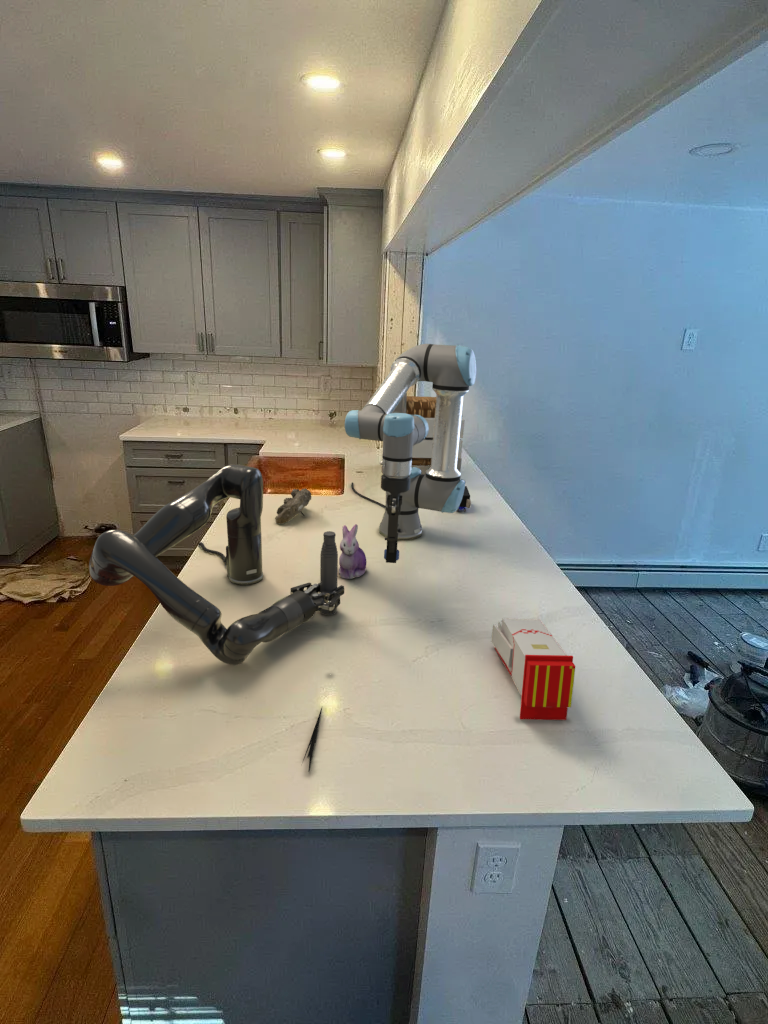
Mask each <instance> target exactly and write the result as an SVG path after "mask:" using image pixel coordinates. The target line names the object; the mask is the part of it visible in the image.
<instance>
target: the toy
mask: <svg viewBox="0 0 768 1024" xmlns="http://www.w3.org/2000/svg"><path fill="white" fill-rule="evenodd" d="M490 638H491V639H490V642H491V644H492V646H493V647H494V650H495V652H496V654H497V655H498V657H499V659H500V660H501V662H502V664H503V666H504V667H505V669H506V671H507V672H508V674H509V676H510V677H511V679H512V681H513V683H514V685H515V688H516V690H517V691H518V693H519V695H520V697H521V698H520V710H519V719H520V720H534V721H535V720H539V721H567V716H568V708H572V701H573V692H574V684H575V674H576V673H575V672H576V665H575V663H574V656H573V655H568V654H567V653H566V652H565V650H564V649H563V648H562V646H561V645H560V644H559V643H558V641H557V640H556V639H555V637H554V636H553V634H552V633H551V632H550V631H549V629H548V628H547V626H546V624H545V623H543V621H542V620H541V619H540V618H505V617H503V618H501V620H498V622H497V624H495V623H493V624H492V632H491V637H490Z"/></svg>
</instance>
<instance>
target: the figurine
mask: <svg viewBox="0 0 768 1024" xmlns="http://www.w3.org/2000/svg"><path fill="white" fill-rule="evenodd" d="M358 529H359V525H358V524H357V523H355V524H354V525H353V526H352V528H351V529H350V530H349V528H348V526H347V525H346V524H343V526H342V539H341V541H340V544H339V550H340V551H341V553H340V555H339V557H338V564H339V565H338V566H339V567H338V573H339V577H340V578H342V579H349V580H351V579H354V578H359V577H361V576H362V575H364V574H365V573H366V569H367V563H368V561H367V556H366V553H365V551H364V550H363V549H362V548H361V547H360V544H359V541H358V539H357V533H358Z"/></svg>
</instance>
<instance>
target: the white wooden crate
mask: <svg viewBox="0 0 768 1024" xmlns="http://www.w3.org/2000/svg"><path fill="white" fill-rule="evenodd" d="M407 394H408V393H407V392H406V394H405V395H404V396H403V398H402V399H401V401H400V402H399V404H398V405H397V407H396V408H395V410H394V411H393V413H406V414H410V415H420V416H422V417H423V418H424V419H425V420H426V421H427V423H428V427H429V431H428V434H427V436H426V437H425V438H424V439H423V440H422V442H420V443H418V444H416V445H414V446H413V448H412V467H417V466H418V467H431V459H432V446H433V433H434V420H435V408H436V396H415V395H414V396H413V395H412V396H411V395H407ZM464 429H465V419H464V418H463V417H461V427H460V438H459V448H458V459H457V470H458V471H459V472H460V473H461V472H462V461H463V460H462V453H463V442H464V441H463V440H462V439H463V438H464V431H465V430H464ZM461 474H462V473H461Z"/></svg>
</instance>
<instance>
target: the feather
mask: <svg viewBox="0 0 768 1024" xmlns="http://www.w3.org/2000/svg"><path fill="white" fill-rule="evenodd" d="M329 675H330V676H331V675H332V674H331V673H330V674H329ZM322 710H323V707H321V708H320V710H319V713H318V716H317V719H316V723H315V725H314V728H313V731H312V733H311V737H310V739H309V742H308V745H307V748H306V751H305V754H304V757H303V760H302V763H301V767H302V765H303V763H304V761H305V758H308V759H309V760H308V762H307V763H308V764H307V766H308V771H310V770H311V766H312V765H311V764H312V760H313V757H315V756H314V755H315V751H316V749H315V746H317V739H318V733H319V729H320V722H321V717H322V712H323V711H322ZM313 754H314V755H313ZM306 755H307V757H306Z"/></svg>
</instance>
